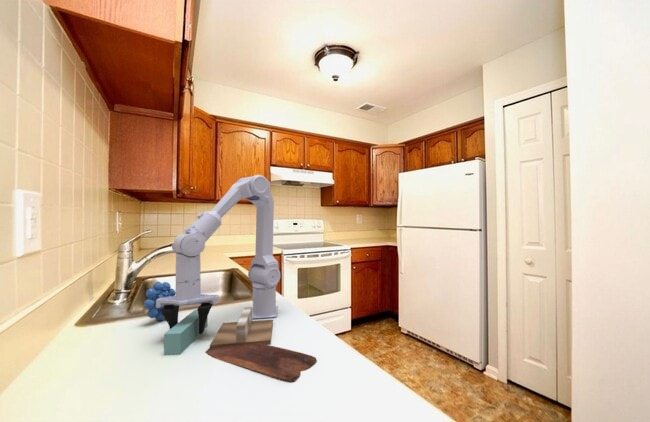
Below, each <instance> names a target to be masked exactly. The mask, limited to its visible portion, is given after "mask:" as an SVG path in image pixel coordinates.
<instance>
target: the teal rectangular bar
mask: <svg viewBox="0 0 650 422" xmlns="http://www.w3.org/2000/svg"><path fill="white" fill-rule="evenodd" d="M207 327H208V319H207V320H206V323H205V328H204V331H205V329H207ZM163 335H164V336H163V356H179V355H182V354H183V353H184V351H185V350H187V349H188V348H189V346H190V345H191V344H193V342H194V341H195V340H197V338H198V337H199V336H201V334H199V315H198V309H194V310H193V311H191V312H190V313H189V314H188V315H186V316H185V317H184V318H183V319H181V320H179V321H178V323H177V324H176V325H175V326H174V327H172V328H171V329H170V328H169V330H167V331H166V332H165V333H164V334H163Z"/></svg>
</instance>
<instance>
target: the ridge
mask: <svg viewBox="0 0 650 422" xmlns="http://www.w3.org/2000/svg"><path fill="white" fill-rule="evenodd" d="M252 311H253V306H248V307H247V306H246V307H244V308H243V310H242V311H241V314H240V317H239V318H238V319H239V320H238V321H233V322H230V321H229V322H222V324H221V326H220V327H219V329H218V331H217V332H216V334H215V336H214V337H213V339H212V341H211V342H210V344H209V348H210V349H212V348H217V347H224V346H232V345H242V344H253V343H260V344H265V345H270V346H271V344H272V343H271V342H272V334H273V326H274V325H273V324H274V320H273V319H264V320H263V319H262V320H253V319H252Z"/></svg>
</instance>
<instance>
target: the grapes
mask: <svg viewBox="0 0 650 422" xmlns="http://www.w3.org/2000/svg"><path fill="white" fill-rule="evenodd" d="M171 287H172V286H171V284H170V283H169V282H167V281H164V282H161V281H156V282H154V283H153V285H152V287H150V288H148V289H147V290H146V292H145V296H146V297H147V299H145V300H144V302H143V307H144V308H145V309H146V310H147V311H146V313H147V316H148V317H149V318H150V319H155V320H156V321H159V322H161V321H164V319H165V317H164V316H163V315H162V312H161V311H162V310H163V308H164V306H163V307H160V308H156V300H157V299H159V298H164V297H172V296H176V289H174V288H171Z"/></svg>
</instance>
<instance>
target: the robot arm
mask: <svg viewBox="0 0 650 422" xmlns="http://www.w3.org/2000/svg"><path fill="white" fill-rule="evenodd" d="M244 199H246V200H247V201H249V202H251V203H252V204H253V205H254V206H255V208H256V218H255V219H256V221H255V256H254V257H253V258H252V259H251V262H250V267H249V269H248V272H247V276H248V280H249V281H250V282H251V286H252V320H253V319H254V320H255V319H266V318H267V319H268V318H277V317H278V309H279V308H278V306H277V291H276V289H277V286H278V284H279V282H280V280H281V271H280V268H279V262H278V260H277V259H276V258H275V256H274V218H275V217H274V215H275V213H274V212H275V210H274V209H275V201H274V197H273V195H272V192H271V182H270V181H269V180H268V179H267V178H266V177H265V176H264V175H262V174H256V175H252V176H247V177H241V178H239V179H238V180H237V181H236V182H234V183H233V184H232V185H231V187H230V188H229V190H228V191H227V192H226V193H225V194H224V195H223V197H221V198H220V200H218V202H217V203H216V204H215V206H214V207H213V208H212V209H211V210H204V211H203V212H199V213H198V214H197V215H196V219H195V220H194V221H193V222H192V223H191V225H189V227H185V228H184V229H183V231H184V233H181V234H178V235H177V236H176V237H175V238H174V240H173V243H172V244H171V248H172V251H173V252H174V253H175V293H176V294H175V296H172V297H164V298H159V299H157V300H156V308H160V307H163V306H164V308H163V310H162V311H161V312H162V315H163V316H164V317H165V318H164V319H165V320H166V322H167V325H168V328H169V330H170V329H171V328H172V327H174V326H175V325H176V324H177V323H179V310H180V306H190V305H191V306H194V305H199V306H198V307H197V310H198V315H199V334H200V335H203V333H204V332H205V330H204V328H205V323H206V320H207V321H208V316H209V314H210V311H211V308H212V307H213V305H217V304H219V301H220V298H219V297H220V296H219V294H205V293H204V294H203V293H202V294H201V291H202V290H201V284H202V283H201V280H202V278H201V253H202V252H204V250H205V248H206V242H207V241H209V239H210V238H211V237H212V236H213V234H214V233H216V231H217V230H218V229H219V228H220V227H221V226H222V219H223V217H224V216H225V215H227V214H228V213H229V211H230V210H231V209H232V208H233V207H234V206H235V205H236V204H237V203H238V202H239V201H241V200H244ZM205 329H206V328H205Z"/></svg>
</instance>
